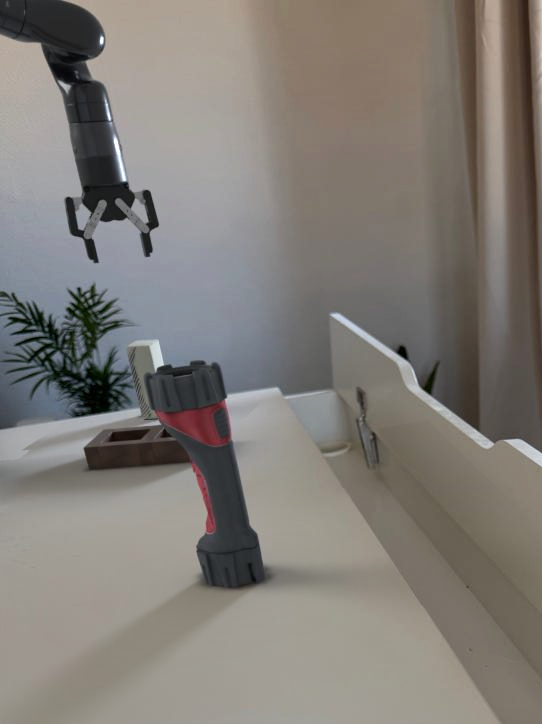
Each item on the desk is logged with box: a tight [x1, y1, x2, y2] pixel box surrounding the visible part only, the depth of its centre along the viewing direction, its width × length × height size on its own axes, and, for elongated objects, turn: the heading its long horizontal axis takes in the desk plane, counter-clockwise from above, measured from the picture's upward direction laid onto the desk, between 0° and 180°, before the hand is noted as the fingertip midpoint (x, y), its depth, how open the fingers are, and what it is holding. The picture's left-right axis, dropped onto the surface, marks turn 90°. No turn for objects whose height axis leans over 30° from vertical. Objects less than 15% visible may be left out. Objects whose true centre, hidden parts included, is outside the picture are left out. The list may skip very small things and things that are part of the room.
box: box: [125, 339, 165, 420], centre depth 172 cm, size 5×4×13 cm
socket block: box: [82, 424, 193, 471], centre depth 149 cm, size 18×10×4 cm, turn 92°
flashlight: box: [143, 359, 267, 589], centre depth 101 cm, size 8×8×23 cm
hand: (121, 259), depth 166 cm, fingers open, 8 cm apart
